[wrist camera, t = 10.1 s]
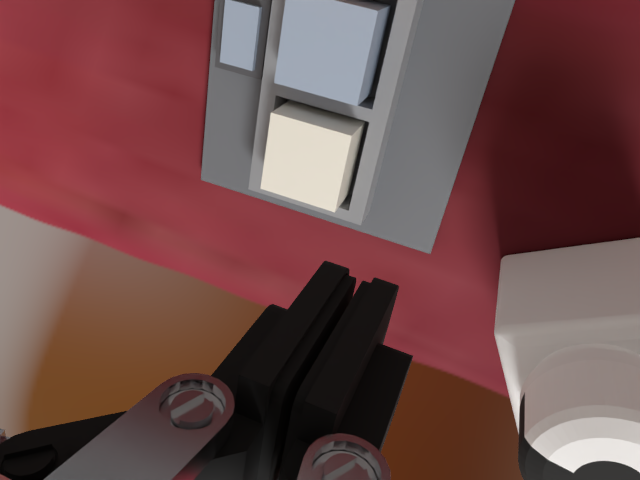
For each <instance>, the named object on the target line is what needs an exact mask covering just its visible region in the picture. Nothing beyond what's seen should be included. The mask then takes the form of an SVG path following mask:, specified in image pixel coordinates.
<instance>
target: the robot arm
mask: <svg viewBox="0 0 640 480" xmlns="http://www.w3.org/2000/svg"><path fill="white" fill-rule="evenodd" d="M355 284H356V278H354V277H351V276H349V269H348V268H346V267H343V266H340V265H337V264H334V263H331V262H328V261H324V262H323V263H322V265H321V266H320V267H319V269H318V270H317V271H316V273H315V274H314V275H313V277H312V278H311V279H310V281H309V282H308V283H307V285H306V286H305V287H304V289H303V290H302V291H301V293H300V294H299V295H298V297H297V298H296V299H295V301H294V302H293V303H292V305H291V306H290V307H289V308H288V310H287V309H285V308H282V307H279V306H277V305H274V304H272V305H269V306H268V307H267V308H266V309H265V311H264V312H263V313H262V314H261V316H260V317H259V318H258V319H257V320H256V322H255V323H254V324H253V325H252V326H251V328H250V329H249V330H248V331H247V333H246V334H245V335H244V336H243V337H242V339H241V340H240V341H239V342H238V344H237V345H236V346H235V347H234V348H233V350H232V351H231V352H230V353H229V354H228V356H227V357H226V358H225V359H224V361H223V362H222V363H221V364H220V366H219V367H218V368H217V369H216V370H215V372H214V373H213V374H212V375H211V376H209V375H205V374H199V373H190V374H182V375H178V376H175V377H172V378H170V379H168V380H167V381H165V382H163V383H162V384H160V385H159V386H158V387H156V388H155V389H154V390H153V391H152V392H150V393H149V394H148V395H147V396H146V397H144V398H143V399H142V400H141V401H139V402H138V403H137V404H136V405H134V406H133V407H132V408H131V409H129V410H128V411H124V412H120V413H115V414H110V415H105V416H100V417H95V418H90V419H85V420H80V421H75V422H70V423H66V424H60V425H56V426H51V427H46V428H41V429H36V430H31V431H28V432H24V433H21V434H18V435H15V436H13V437H6V434H5V430H3V429H0V480H391V479H390V478H391V477H390V469H389V467H388V464H387V462H386V460H385V458H384V457H383V455H382V454H381V450H382V447H383V444H384V441H385V438H386V435H387V433H388V430H389V426H390V424H391V421H392V418H393V416H394V412H395V410H396V407H397V404H398V401H399V398H400V395H401V391H402V389H403V386H404V383H405V380H406V377H407V373H408V370H409V367H410V364H411V361H412V358H413V356H412V355H409V354H406V353H404V352H401V351H398V350H396V349H393V348H390V347H388V346H385V345H383V342H384V339H385V335H386V332H387V328H388V324H389V321H390V317H391V314H392V310H393V307H394V303H395V300H396V296H397V292H398V288H399V286H398V285H395V284H392V283H390V282H387V281H384V280H381V279H378V278H374V279H373V280H372V282H371V283H369V282H366V281H362V283H361V284H360V286H359V288H358V289H357V291H356V293H355V294H354V296H353V293H354V289H355ZM352 297H353V298H352Z"/></svg>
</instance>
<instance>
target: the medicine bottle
mask: <svg viewBox="0 0 640 480" xmlns="http://www.w3.org/2000/svg"><path fill="white" fill-rule="evenodd" d="M494 335H495V339H496V343H497V347H498V351H499V355H500V359H501V363H502V367H503V372H504V376H505V380H506V384H507V388H508V392H509V396H510V400H511V404H512V409H513V412H514V417H515V421H516V425H517V429H518V433H519V451H518V462H519V468H520V471H521V475H522V477H523V479H524V480H640V237H639V238H632V239H625V240H617V241H610V242H602V243H595V244H587V245H580V246H572V247H565V248H557V249H550V250H542V251H535V252H528V253H520V254H513V255H506V256H504V257H503V258H502V259H501V265H500V276H499V286H498V297H497V308H496V318H495V329H494Z"/></svg>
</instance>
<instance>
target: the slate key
mask: <svg viewBox="0 0 640 480" xmlns="http://www.w3.org/2000/svg"><path fill="white" fill-rule="evenodd" d="M390 7H391V5H387V4H383V3H379V2H375V1H371V0H285V7H284V14H283V22H282V29H281V36H280V43H279V51H278V58H277V65H276V73H275V80H274V83H276V84H280V85H283V86H287V87H291V88H294V89H298V90H301V91H305V92H308V93H312V94H316V95H319V96H323V97H326V98H330V99H333V100H337V101H340V102H344V103H348V104H351V105H355V106H358V105H359V104H360V103H361V102H362V101H363V100H364V99H365V98H367V97H368V96H369V95H370V94H371V90H372V86H373V82H374V77H375V73H376V68H377V64H378V60H379V55H380V51H381V47H382V42H383V38H384V34H385V29H386V25H387V20H388V16H389V12H390Z"/></svg>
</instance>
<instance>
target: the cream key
mask: <svg viewBox="0 0 640 480" xmlns="http://www.w3.org/2000/svg"><path fill="white" fill-rule="evenodd" d="M364 125H365V121H362V120H358V119H355V118H351V117H348V116H344V115H341V114H337V113H334V112H330V111H327V110H323V109H320V108H316V107H313V106H309V105H306V104H302V103H299V102H295V101H292V100H290V101H288V102H286V103H285V104H283V105H282V106H280V107H279V108H277V109H276V110H274V111H272V112H271V115H270V123H269V130H268V137H267V144H266V152H265V159H264V166H263V173H262V180H261V188H260V189H263V190H266V191H269V192H273V193H276V194H279V195H282V196H285V197H288V198H291V199H294V200H298V201H301V202H304V203H307V204H310V205H313V206H316V207H319V208H322V209H326V210H329V211H332V212H336V210H337V209H338V207H339V206H340V205H341V203H342V202H343V201H344V199H345V198H346V197H347V195H348V194H349V190H350V186H351V181H352V177H353V173H354V168H355V164H356V160H357V155H358V151H359V147H360V142H361V138H362V134H363V129H364Z"/></svg>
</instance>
